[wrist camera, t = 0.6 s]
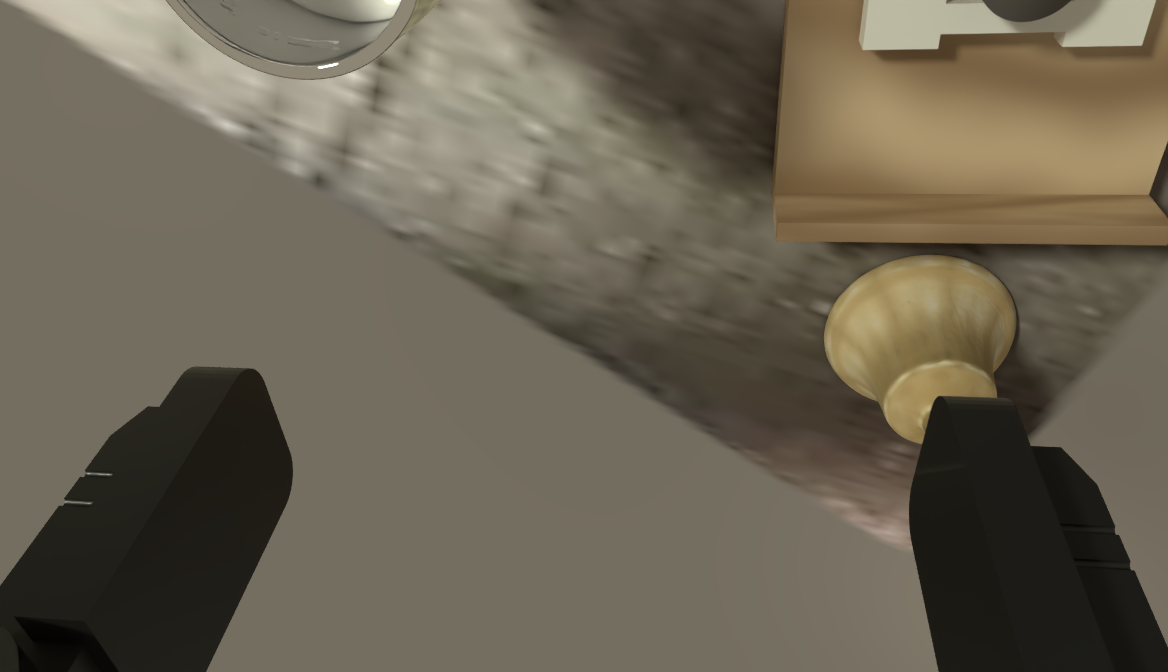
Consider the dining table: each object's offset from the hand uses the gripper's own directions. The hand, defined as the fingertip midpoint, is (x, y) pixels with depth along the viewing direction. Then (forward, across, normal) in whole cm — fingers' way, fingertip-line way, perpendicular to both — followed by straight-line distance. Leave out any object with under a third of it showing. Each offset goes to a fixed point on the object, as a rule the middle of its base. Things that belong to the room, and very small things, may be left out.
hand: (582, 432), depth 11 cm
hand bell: (+26, -11, +18) cm, 34 cm away
